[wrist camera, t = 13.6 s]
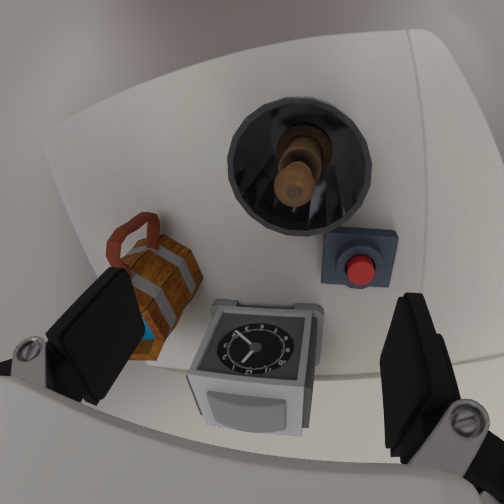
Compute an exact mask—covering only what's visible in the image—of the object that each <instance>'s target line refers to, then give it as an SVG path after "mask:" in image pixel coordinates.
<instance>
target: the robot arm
mask: <svg viewBox="0 0 504 504" xmlns="http://www.w3.org/2000/svg"><path fill="white" fill-rule="evenodd" d="M144 335H145V325H144V322H143V319H142V315H141V312H140V309H139V305H138V302H137V298H136V295H135V291H134V288H133V284H132V281H131V277H130V274H129V273H127V271H126V270H125V269H124V268H119V267H109V268H108V269H107V270H106V271H105V272H104V273H103V274H102V275H101V276H100V277H99V278H98V279H97V280H96V281H95V282H94V283H93V284H92V285H91V286H90V287H89V288H88V289H87V290H86V291H85V292H84V293H83V294H82V295H81V296H80V297H79V298H78V299H77V300H76V301H75V302H74V303H73V304H72V305H71V306H70V307H69V309H68V310H67V311H66V312H65V313H64V314H63V315H62V316H61V317H60V318H59V319H58V320H57V321H56V322H55V324H54V325H53V326H52V327H51V328H50V329H49V330H48V331H47V332H46V336H47V338H48V341H47V342H45V341H44V339H43V338H41V337H37V336H33V337H29V338H26V339H24V340H23V341H21V342H20V343H19V344H18V345H17V346H16V348H15V350H14V353H13V358H12V359H9V360H7V361H3V362H0V504H504V441H503V440H501V439H500V438H499V437H497V436H496V435H494V434H493V433H491V432H490V431H489V430H488V429H489V426H490V421H489V416H488V413H487V411H486V410H485V408H484V407H483V406H482V405H480V404H479V403H478V402H476V401H474V400H471V399H461V397H460V394H459V390H458V386H457V382H456V379H455V375H454V372H453V368H452V365H451V361H450V358H449V355H448V351H447V348H446V345H445V342H444V339H443V337H442V335H441V334H436V331H435V328H434V325H433V322H432V319H431V316H430V313H429V310H428V307H427V305H426V302H425V299H424V296H423V294H421V293H405V294H404V296H403V297H399V298H398V300H397V304H396V307H395V311H394V314H393V318H392V321H391V325H390V328H389V331H388V334H387V338H386V341H385V344H384V347H383V350H382V353H381V357H380V371H381V382H382V394H383V408H384V423H385V425H384V426H385V446H386V448H390V450H391V457H400V462H401V463H402V464H387V463H353V462H333V461H332V462H331V461H319V460H306V459H297V458H286V457H279V456H271V455H264V454H258V453H251V452H245V451H239V450H235V449H229V448H224V447H219V446H215V445H210V444H206V443H201V442H197V441H193V440H189V439H185V438H181V437H178V436H174V435H170V434H167V433H163V432H160V431H156V430H153V429H150V428H147V427H144V426H141V425H137V424H134V423H132V422H129V421H126V420H123V419H120V418H117V417H114V416H112V415H109V414H106V413H104V412H101V411H99V410H96V409H94V408H91V407H89V406H86V405H84V404H82V403H81V401H82V399H83V398H84V400H85V401H86V402H88V403H91V404H93V405H96V406H97V404H98V403H99V401H100V399H103V398H104V397H105V396H106V394H107V393H108V391H109V390H110V388H111V386H112V385H113V383H114V382H115V380H116V379H117V377H118V375H119V374H120V372H121V371H122V369H123V368H124V366H125V364H126V363H127V361H128V360H129V358H130V357H131V355H132V354H133V352H134V351H135V349H136V347H137V346H138V344H139V343H140V341H141V340H142V338H143V337H144Z"/></svg>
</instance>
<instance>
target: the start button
mask: <svg viewBox="0 0 504 504" xmlns="http://www.w3.org/2000/svg"><path fill="white" fill-rule="evenodd" d="M347 275H348V279H349V280H350V281H351V282H352V283H353V284H355V285H365V284H368V283H369V282H370V281H371V280H372V279H373V278H374V275H375V270H374V266H373V262H372V260H371V259H370V258H369V257H367V256H364V255H357V256H354V257H353V258H351V259H350V260H349V262H348V264H347Z"/></svg>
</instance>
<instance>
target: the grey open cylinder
mask: <svg viewBox="0 0 504 504" xmlns="http://www.w3.org/2000/svg"><path fill="white" fill-rule="evenodd" d="M300 123H308V124H312V125H315V126H317V127H319V128H320V129H322V130H323V131H324V132H325V133H326V134H327V135H328V137H329V139H330V141H331V144H332V151H333V153H332V159H331V162H330V164H329V166H328V167H327V168H326V169H325V170H324V171H323V172H322V173H321V174H320V177H319V179H318V180H317V182H316V183H315V191H314V194H313V196H312V198H311V199H310V200H309V201H308V202H307V203H306V204H304V205H302V206H298V207H291V206H287V205H285V204H284V203H282V202H281V201H280V200H279V199H278V197H277V196H276V194H275V190H274V182H275V178H276V176H277V175H278V173H279V171H278V166H279V159H278V156H277V144H278V141H279V138H280V137H281V135H282V134H283V133H284V132H285V131H286V130H287V129H288V128H289V127H291V126H293V125H295V124H300ZM227 157H228V158H227V163H228V178H229V182H230V184H231V187H232V189H233V192H234V195H235V197H236V199H237V200H238V202H239V203H240V204H241V206H242V207H243V208H244V209H245V211H246V212H247V213H248V214H249V215H250V216H251V217H252V218H253V219H255V220H256V221H258V222H259V223H260V224H262V225H263V226H265V227H266V228H268V229H271V230H274V231H276V232H279V233H282V234H285V235H292V236H313V235H317V234H321V233H326V232H329V231H331V230H333V229H335V228H336V227H338V226H340V225H342V224H343V223H345V222H347V221H348V220H349V219H350V218H351V217H352V215H353V214H354V213H355V212H356V211H357V210H358V209H359V208H360V207H361V205H362V203H363V201H364V199H365V196H366V194H367V192H368V189H369V187H370V182H371V170H372V162H371V158H370V154H369V150H368V146H367V142H366V140H365V139H364V137H363V135H362V134H361V132H360V131H359V129H358V128H357V126H356V125H355V123H354V122H353V121H352V120H351V119H350V118H349V117H347V116H346V115H345V114H344V113H342V112H341V111H340V110H339V109H337V108H336V107H335V106H333V105H332V104H331V103H329V102H326V101H323V100H320V99H318V98H315V97H287V98H283V99H280V100H276V101H273V102H270V103H267V104H264V105H262V106H261V107H260V108H258V109H257V110H256V111H254V112H253V113H252V114H250V115H249V116H248V117H246V119H244V121H243V122H242V124H241V125H240V127H239V128H238V130H237V131H236V133H235V134H234V136H233V138H232V141H231V145H230V149H229V153H228V156H227Z"/></svg>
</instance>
